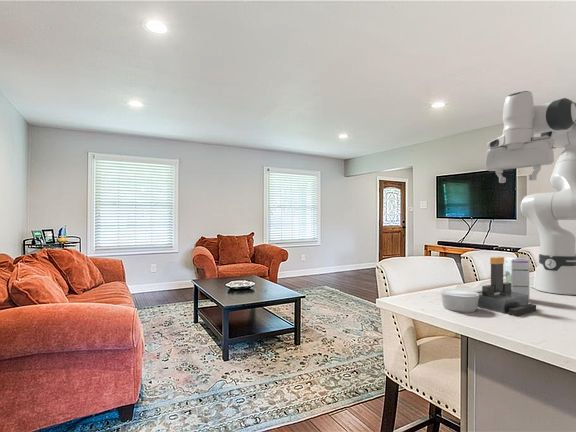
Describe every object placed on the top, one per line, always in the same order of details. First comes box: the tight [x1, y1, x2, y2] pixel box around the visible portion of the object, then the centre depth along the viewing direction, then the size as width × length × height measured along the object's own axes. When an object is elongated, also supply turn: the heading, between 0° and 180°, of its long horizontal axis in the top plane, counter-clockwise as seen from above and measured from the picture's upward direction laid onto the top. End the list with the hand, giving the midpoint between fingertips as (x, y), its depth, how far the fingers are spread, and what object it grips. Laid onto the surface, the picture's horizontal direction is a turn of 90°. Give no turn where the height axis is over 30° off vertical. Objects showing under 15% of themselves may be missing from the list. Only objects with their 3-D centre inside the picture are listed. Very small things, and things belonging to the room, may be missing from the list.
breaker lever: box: [489, 256, 505, 293], centre depth 114 cm, size 5×2×11 cm, turn 121°
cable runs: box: [508, 303, 537, 317], centre depth 115 cm, size 13×22×2 cm, turn 31°
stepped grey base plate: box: [473, 281, 529, 314], centre depth 114 cm, size 14×12×7 cm
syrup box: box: [504, 256, 530, 302], centre depth 124 cm, size 6×6×14 cm
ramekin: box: [439, 288, 480, 313], centre depth 111 cm, size 11×11×5 cm
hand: (517, 181), depth 117 cm, fingers open, 8 cm apart
